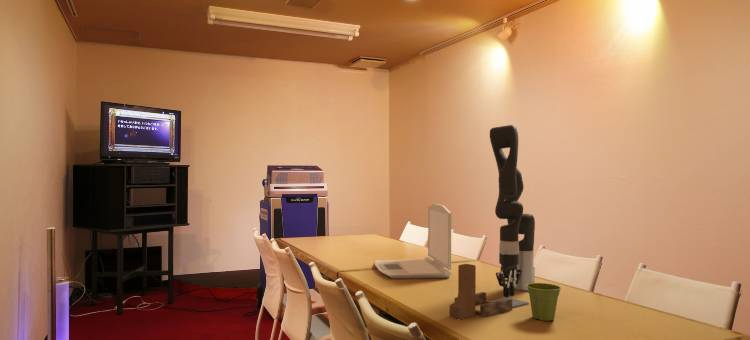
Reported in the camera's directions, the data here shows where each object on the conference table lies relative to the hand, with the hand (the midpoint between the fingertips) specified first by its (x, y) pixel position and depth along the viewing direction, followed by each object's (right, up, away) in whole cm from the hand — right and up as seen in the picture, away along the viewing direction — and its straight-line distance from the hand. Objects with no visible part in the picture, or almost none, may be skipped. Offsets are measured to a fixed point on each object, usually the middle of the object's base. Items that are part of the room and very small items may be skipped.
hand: (508, 296), depth 194 cm
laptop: (-35, -3, +62) cm, 71 cm away
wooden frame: (-12, -3, -9) cm, 15 cm away
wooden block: (-21, -3, -19) cm, 29 cm away
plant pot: (+7, -3, -20) cm, 21 cm away
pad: (0, -3, 0) cm, 3 cm away
